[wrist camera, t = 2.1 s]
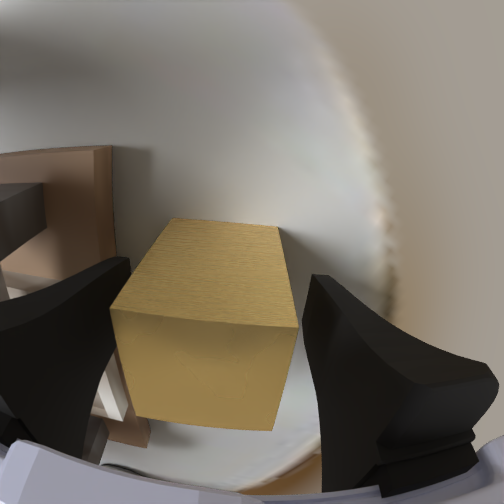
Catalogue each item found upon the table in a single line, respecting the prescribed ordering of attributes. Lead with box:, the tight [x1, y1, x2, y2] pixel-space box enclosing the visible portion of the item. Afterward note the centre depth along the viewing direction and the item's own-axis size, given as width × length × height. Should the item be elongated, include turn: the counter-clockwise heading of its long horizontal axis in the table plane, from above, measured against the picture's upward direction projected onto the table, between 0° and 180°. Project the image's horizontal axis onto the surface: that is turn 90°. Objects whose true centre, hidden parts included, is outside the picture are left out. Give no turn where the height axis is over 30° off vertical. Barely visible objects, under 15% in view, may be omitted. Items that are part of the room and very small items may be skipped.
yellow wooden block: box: [110, 218, 299, 431], centre depth 10 cm, size 4×4×6 cm
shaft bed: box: [0, 145, 151, 465], centre depth 11 cm, size 18×8×6 cm, turn 175°
